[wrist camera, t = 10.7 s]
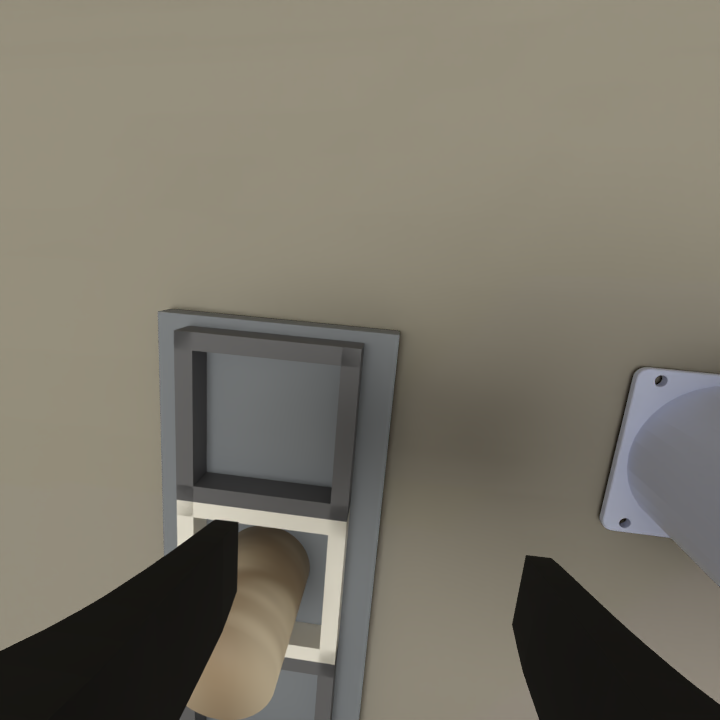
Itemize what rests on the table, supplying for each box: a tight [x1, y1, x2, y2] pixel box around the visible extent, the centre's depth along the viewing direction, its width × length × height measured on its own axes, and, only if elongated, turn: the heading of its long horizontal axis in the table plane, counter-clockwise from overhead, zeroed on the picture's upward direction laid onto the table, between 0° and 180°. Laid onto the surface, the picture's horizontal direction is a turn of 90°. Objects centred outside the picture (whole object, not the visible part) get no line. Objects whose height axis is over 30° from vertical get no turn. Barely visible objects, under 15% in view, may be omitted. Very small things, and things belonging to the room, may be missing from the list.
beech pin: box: [186, 526, 310, 720], centre depth 19 cm, size 4×4×6 cm
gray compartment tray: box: [158, 309, 400, 720], centre depth 22 cm, size 11×25×3 cm, turn 175°
